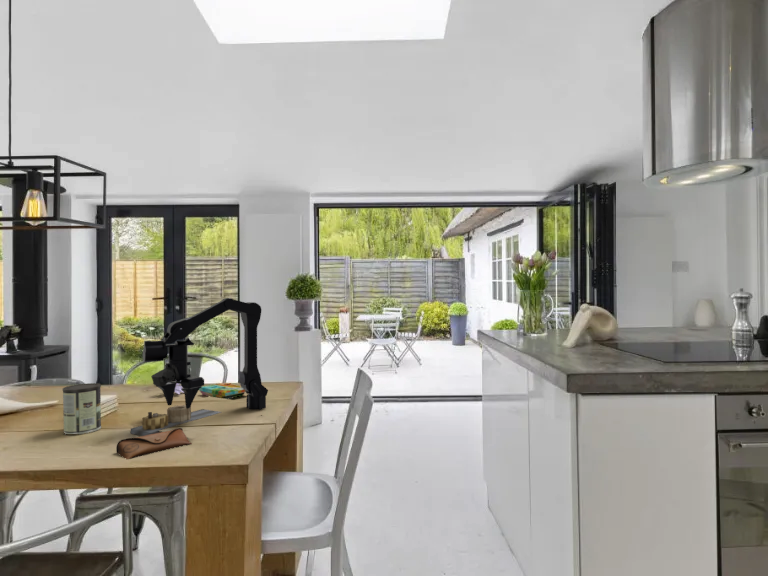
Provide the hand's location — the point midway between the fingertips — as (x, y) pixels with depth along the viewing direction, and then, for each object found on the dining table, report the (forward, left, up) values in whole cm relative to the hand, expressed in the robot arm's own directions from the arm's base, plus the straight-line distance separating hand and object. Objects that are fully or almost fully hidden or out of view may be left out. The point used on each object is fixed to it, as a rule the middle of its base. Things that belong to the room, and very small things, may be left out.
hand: (178, 406), depth 153 cm
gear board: (0, 0, -6) cm, 6 cm away
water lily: (+42, -29, -6) cm, 52 cm away
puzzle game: (+20, -37, -6) cm, 43 cm away
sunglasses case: (-15, +19, -6) cm, 25 cm away
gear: (0, 0, -4) cm, 4 cm away
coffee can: (+22, +18, -6) cm, 30 cm away
